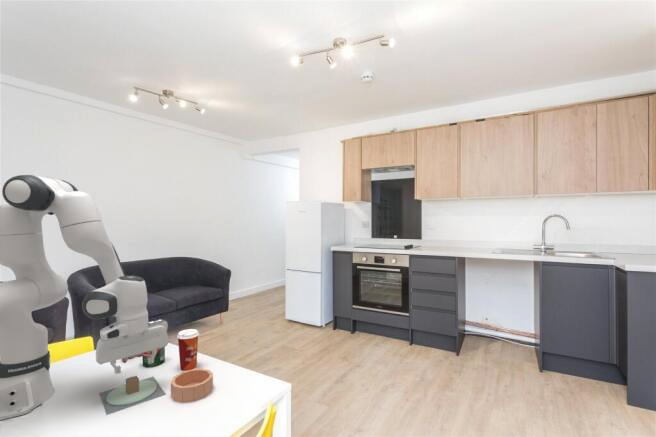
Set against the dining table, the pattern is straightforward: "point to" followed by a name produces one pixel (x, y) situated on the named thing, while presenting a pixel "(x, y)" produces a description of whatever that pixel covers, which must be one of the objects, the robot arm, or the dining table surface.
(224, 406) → the dining table surface
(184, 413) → the dining table surface
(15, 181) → the robot arm
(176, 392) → the bowl
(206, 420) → the dining table surface
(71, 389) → the dining table surface
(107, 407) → the mat
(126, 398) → the cover
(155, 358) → the canned tomato
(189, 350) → the paper cup
